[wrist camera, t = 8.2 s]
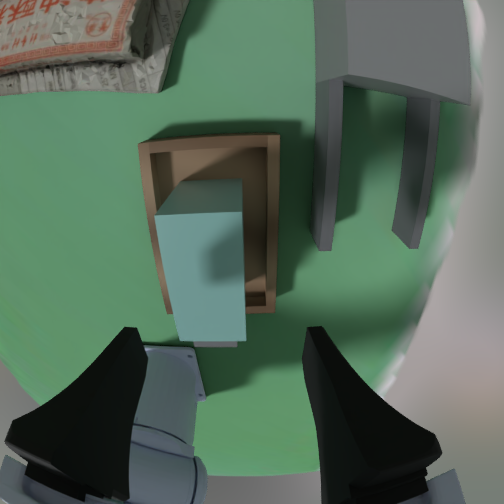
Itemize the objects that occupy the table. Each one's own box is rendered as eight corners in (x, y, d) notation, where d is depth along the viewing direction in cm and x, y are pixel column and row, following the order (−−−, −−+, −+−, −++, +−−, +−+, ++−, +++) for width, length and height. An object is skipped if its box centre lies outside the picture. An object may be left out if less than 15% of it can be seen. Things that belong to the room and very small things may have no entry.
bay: (399, 230, 21) (439, 270, 15) (309, 231, 20) (331, 277, 15) (412, 15, 12) (462, -1, 7) (312, -9, 12) (340, -46, 7)
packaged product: (-47, 106, 9) (-19, -7, 5) (-10, 98, 13) (14, -1, 9) (141, 93, 12) (191, -62, 7) (166, 96, 16) (202, -29, 11)
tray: (273, 298, 23) (275, 312, 22) (171, 299, 23) (167, 314, 21) (276, 132, 17) (280, 135, 15) (147, 140, 17) (137, 143, 15)
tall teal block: (245, 297, 22) (246, 355, 17) (195, 298, 22) (183, 355, 17) (242, 178, 18) (241, 211, 13) (180, 181, 18) (154, 215, 12)
